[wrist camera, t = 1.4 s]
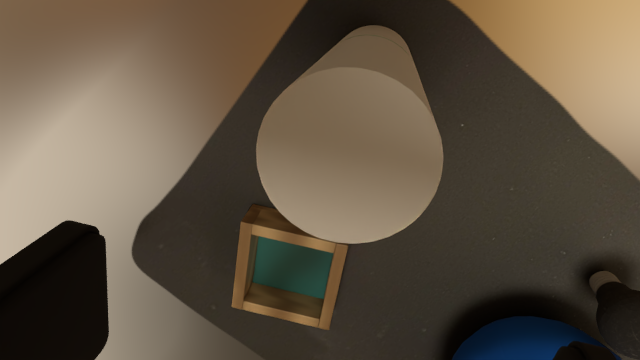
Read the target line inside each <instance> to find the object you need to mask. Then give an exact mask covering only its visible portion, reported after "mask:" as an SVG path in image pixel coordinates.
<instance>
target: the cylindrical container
mask: <svg viewBox="0 0 640 360" xmlns="http://www.w3.org/2000/svg"><path fill="white" fill-rule="evenodd" d="M256 157H257V168H258V172H259V175H260V179H261V182H262V185H263V187H264V189H265V191H266V193H267V195H268V197H269V199H270V200H271V202H272V203H273V204H274V205H275V207H276V208H277V209H278V211H279V212H280V213H281V214H282V215H283V216H284V217H285V218H287V219H288V220H289V221H290V222H291V223H292V224H294V225H295V226H297V227H298V228H300V229H301V230H303V231H304V232H307V233H309V234H311V235H313V236H316V237H318V238H321V239H325V240H329V241H333V242H337V243H351V244H357V243H366V242H373V241H376V240H380V239H383V238H386V237H389V236H391V235H393V234H395V233H397V232H399V231H401V230H403V229H405V228H406V227H407V226H408V225H410V224H411V223H412V222H414V221H415V220H416V219H417V218H418V217H419V216H420V215H421V214H422V213H423V211H424V210H425V209H426V208H427V207H428V205H429V203H430V202H431V200H432V198H433V197H434V195H435V193H436V191H437V188H438V185H439V182H440V179H441V176H442V167H443V158H444V157H443V149H442V141H441V136H440V134H439V131H438V128H437V125H436V122H435V120H434V117H433V114H432V111H431V109H430V106H429V103H428V100H427V97H426V95H425V92H424V89H423V86H422V83H421V81H420V78H419V75H418V72H417V69H416V67H415V64H414V61H413V59H412V56H411V53H410V51H409V48H408V46H407V44H406V43H405V41H404V40H403V39H402V37H401V36H400V35H399V34H397V33H396V32H395V31H393V30H391V29H389V28H387V27H383V26H379V25H368V26H364V27H360V28H358V29H356V30H353V31H352V32H351V33H349V34H348V35H347V36H345V37H344V38H343V39H342V40H341V41H340V42H339V43H338V44H336V45H335V46H334V47H333V48H332V49H331V50H330V51H329V52H327V53H326V54H325V55H324V56H323V57H322V58H321V59H319V60H318V61H317V62H316V63H315V64H314V65H313V66H311V67H310V68H309V69H308V70H307V71H306V72H305V73H303V74H302V75H301V76H300V77H299V78H298V79H297V80H295V81H294V82H293V83H292V84H291V85H290V86H289V87H287V88H286V89H285V90H284V91H283V92H282V93H281V94H280V96H279V97H278V98H277V99H276V100H275V101H274V102H273V103H272V105H271V107H270V108H269V110H268V111H267V113H266V115H265V116H264V119H263V122H262V124H261V127H260V130H259V133H258V140H257V147H256Z"/></svg>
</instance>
